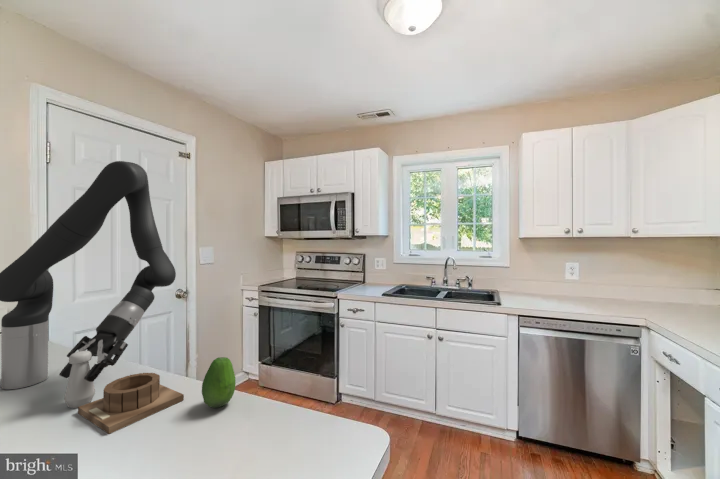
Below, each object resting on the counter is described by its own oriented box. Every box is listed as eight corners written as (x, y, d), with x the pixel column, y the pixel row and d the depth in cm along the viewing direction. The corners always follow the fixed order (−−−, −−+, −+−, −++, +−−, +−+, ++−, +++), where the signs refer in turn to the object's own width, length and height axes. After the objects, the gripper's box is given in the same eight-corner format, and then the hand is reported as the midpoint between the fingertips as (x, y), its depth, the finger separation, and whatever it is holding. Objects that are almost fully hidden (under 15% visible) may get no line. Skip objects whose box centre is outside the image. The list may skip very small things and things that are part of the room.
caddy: (78, 413, 73) (78, 388, 73) (150, 385, 87) (150, 364, 87) (109, 434, 65) (109, 405, 65) (183, 400, 79) (183, 377, 79)
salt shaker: (76, 411, 74) (76, 357, 74) (57, 408, 75) (58, 355, 75) (101, 399, 80) (101, 349, 80) (83, 397, 81) (83, 347, 81)
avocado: (241, 404, 77) (241, 357, 77) (208, 418, 71) (208, 366, 71) (227, 394, 83) (227, 349, 83) (196, 405, 77) (196, 357, 77)
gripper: (92, 312, 87) (41, 369, 76) (131, 315, 83) (84, 375, 72) (112, 326, 92) (67, 381, 81) (149, 329, 88) (108, 387, 77)
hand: (75, 378), depth 77 cm, fingers open, 8 cm apart
